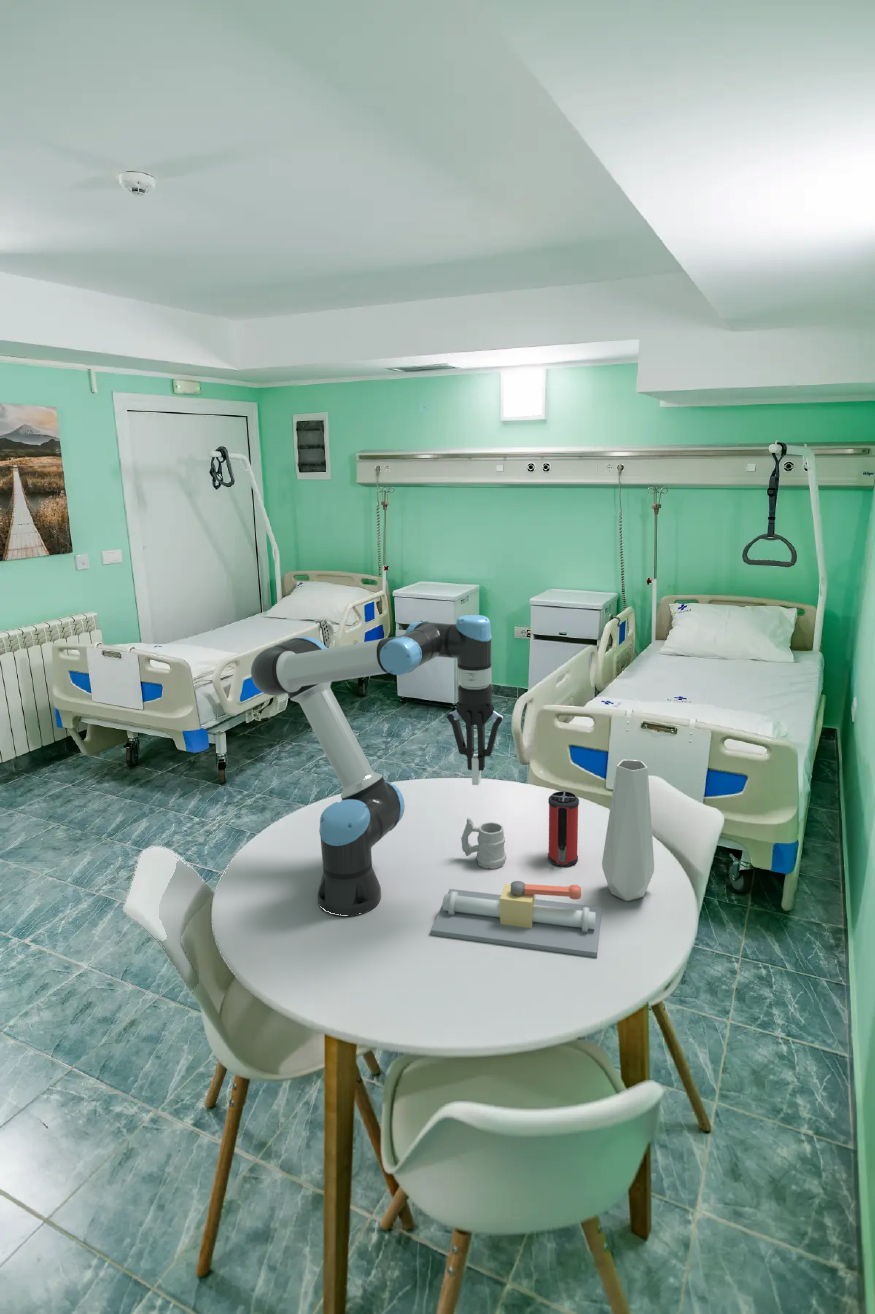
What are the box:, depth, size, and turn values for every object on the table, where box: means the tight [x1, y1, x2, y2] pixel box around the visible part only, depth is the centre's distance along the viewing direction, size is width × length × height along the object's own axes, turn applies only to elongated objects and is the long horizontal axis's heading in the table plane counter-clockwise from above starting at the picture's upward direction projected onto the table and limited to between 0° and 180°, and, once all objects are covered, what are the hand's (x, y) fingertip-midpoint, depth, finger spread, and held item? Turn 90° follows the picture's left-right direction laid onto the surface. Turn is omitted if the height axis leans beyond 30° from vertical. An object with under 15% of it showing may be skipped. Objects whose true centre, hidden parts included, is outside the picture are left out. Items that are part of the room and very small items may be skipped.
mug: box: [460, 816, 507, 870], centre depth 196 cm, size 8×12×12 cm, turn 75°
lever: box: [510, 880, 582, 900], centre depth 167 cm, size 15×3×2 cm, turn 80°
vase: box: [601, 759, 655, 902], centre depth 177 cm, size 12×12×33 cm
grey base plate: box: [430, 884, 603, 958], centre depth 169 cm, size 36×17×8 cm, turn 75°
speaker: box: [547, 790, 580, 867], centre depth 194 cm, size 8×8×18 cm
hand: (476, 782), depth 174 cm, fingers closed
